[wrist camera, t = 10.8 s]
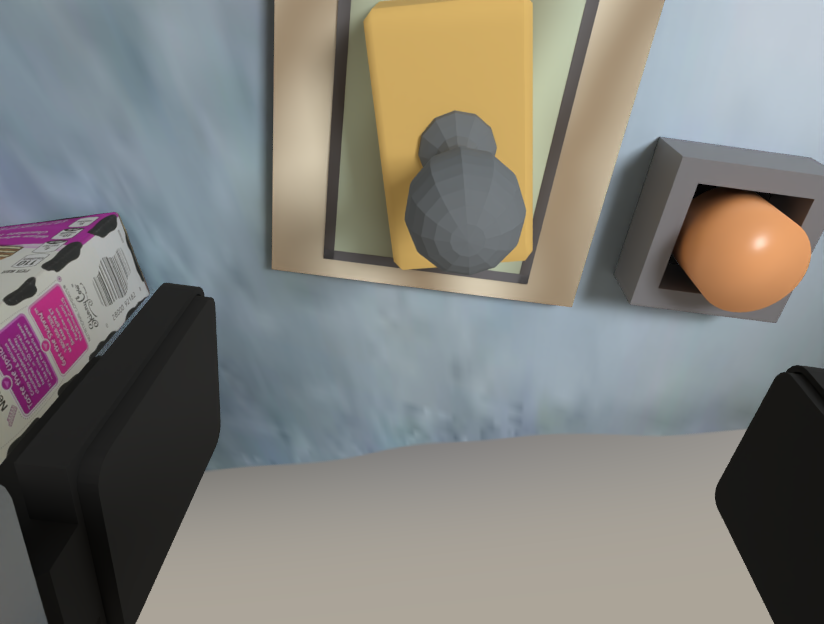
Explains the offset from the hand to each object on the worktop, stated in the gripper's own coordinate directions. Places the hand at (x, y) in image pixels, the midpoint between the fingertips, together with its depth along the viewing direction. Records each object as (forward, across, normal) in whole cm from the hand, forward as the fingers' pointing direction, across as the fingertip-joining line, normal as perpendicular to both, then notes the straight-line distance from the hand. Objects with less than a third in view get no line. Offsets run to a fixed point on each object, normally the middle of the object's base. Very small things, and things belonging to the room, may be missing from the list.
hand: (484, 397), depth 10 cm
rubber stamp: (+19, 0, 0) cm, 19 cm away
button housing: (+20, -13, +3) cm, 24 cm away
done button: (+18, -13, +3) cm, 22 cm away
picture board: (+20, 0, 0) cm, 20 cm away
